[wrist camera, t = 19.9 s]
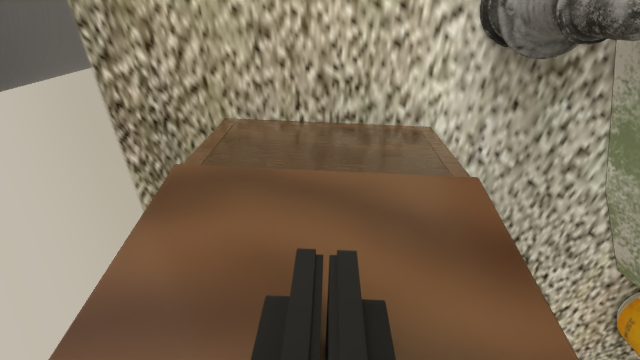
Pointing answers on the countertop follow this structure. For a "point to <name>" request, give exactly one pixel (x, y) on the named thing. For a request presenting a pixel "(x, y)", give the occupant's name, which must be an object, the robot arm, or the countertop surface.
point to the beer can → (630, 321)
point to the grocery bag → (625, 160)
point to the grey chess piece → (558, 24)
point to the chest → (327, 148)
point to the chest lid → (326, 237)
